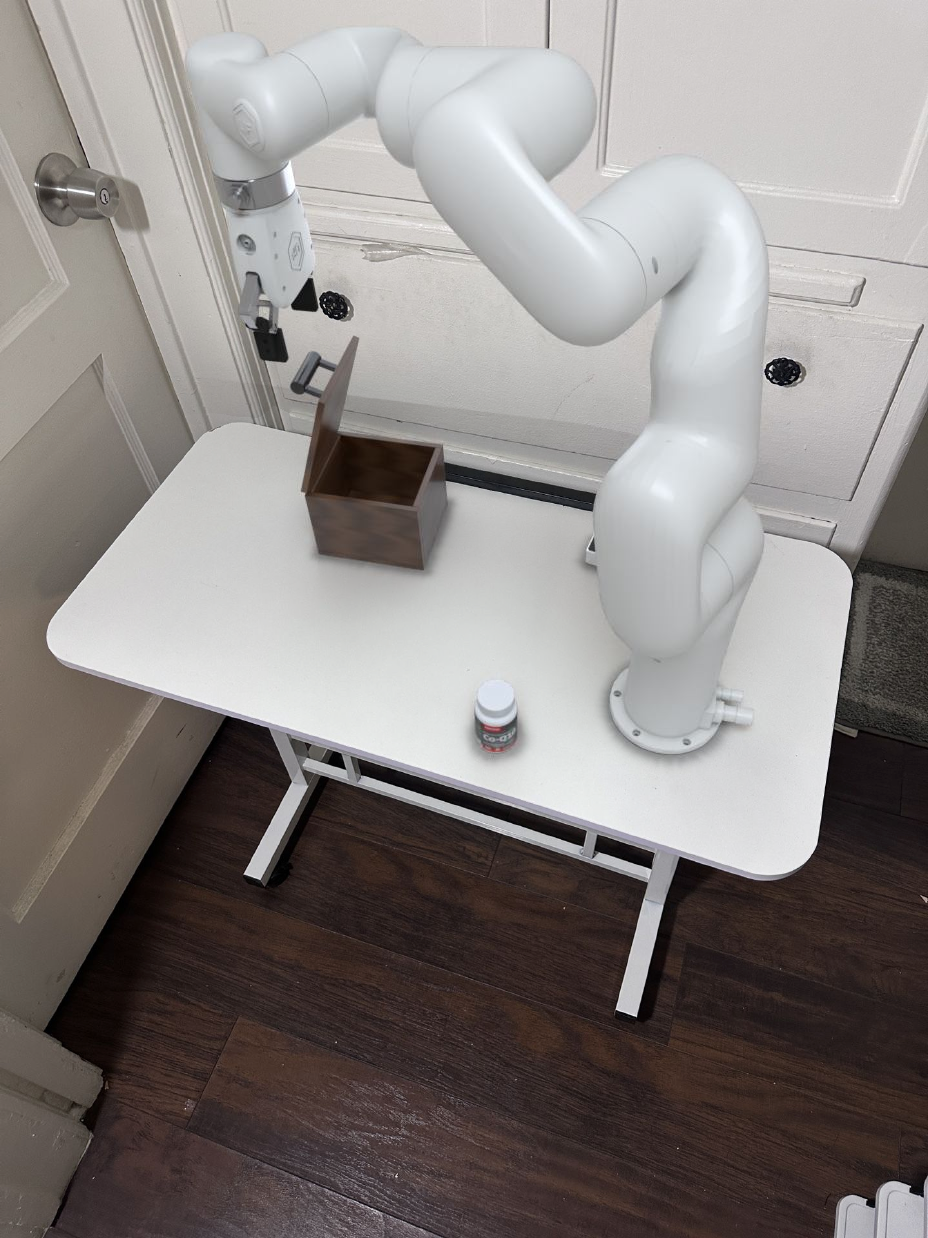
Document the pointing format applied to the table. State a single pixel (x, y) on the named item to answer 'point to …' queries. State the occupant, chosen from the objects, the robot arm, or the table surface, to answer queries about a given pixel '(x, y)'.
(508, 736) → the pill bottle
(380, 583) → the table surface
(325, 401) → the chest lid
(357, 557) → the chest
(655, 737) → the robot arm
